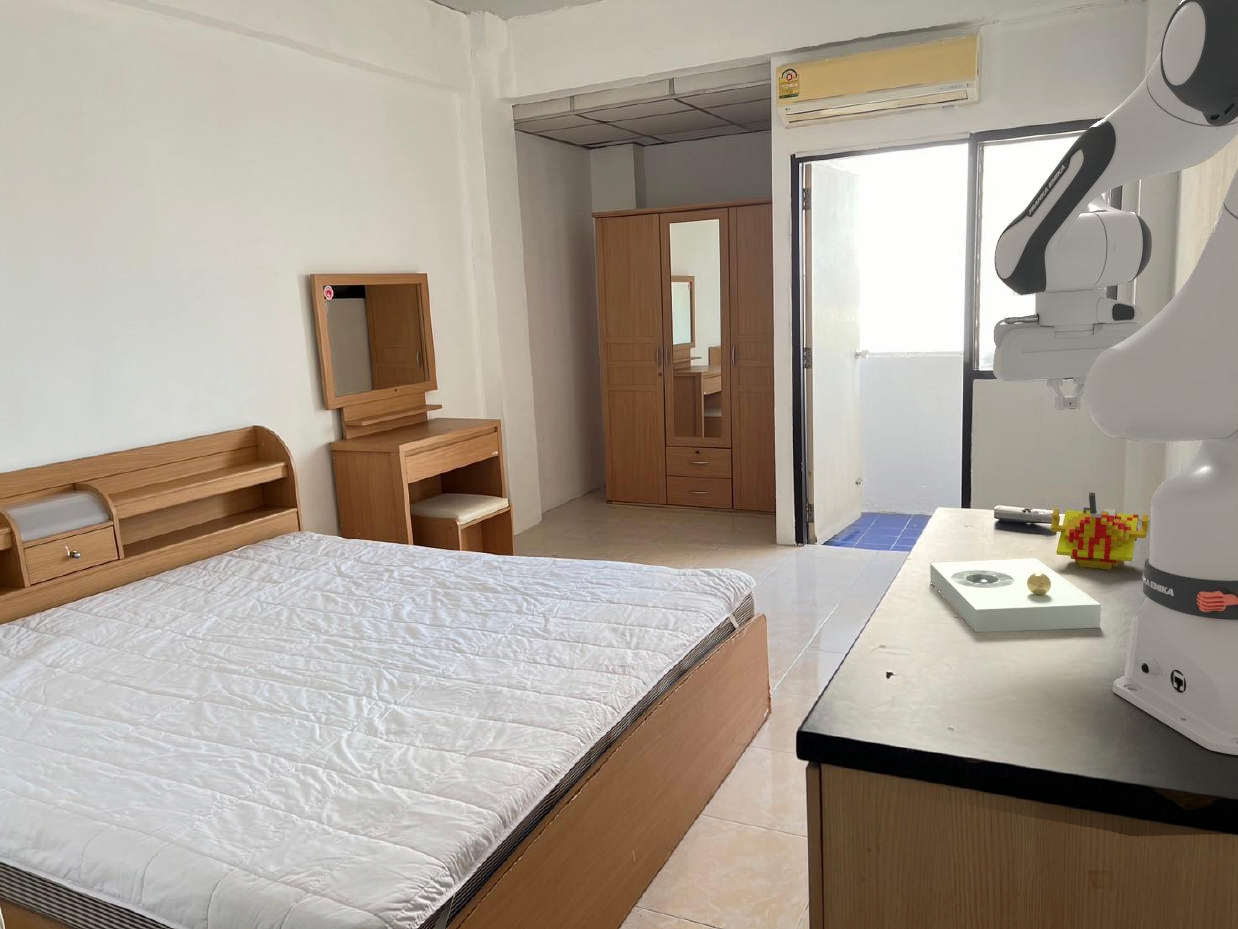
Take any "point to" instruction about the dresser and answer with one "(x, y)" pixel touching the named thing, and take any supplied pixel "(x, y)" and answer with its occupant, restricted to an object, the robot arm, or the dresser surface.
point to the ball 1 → (983, 581)
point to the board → (1012, 596)
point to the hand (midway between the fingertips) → (1067, 408)
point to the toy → (1098, 535)
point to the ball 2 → (1039, 583)
